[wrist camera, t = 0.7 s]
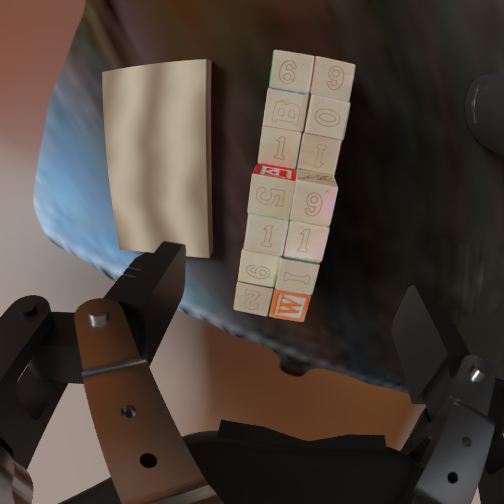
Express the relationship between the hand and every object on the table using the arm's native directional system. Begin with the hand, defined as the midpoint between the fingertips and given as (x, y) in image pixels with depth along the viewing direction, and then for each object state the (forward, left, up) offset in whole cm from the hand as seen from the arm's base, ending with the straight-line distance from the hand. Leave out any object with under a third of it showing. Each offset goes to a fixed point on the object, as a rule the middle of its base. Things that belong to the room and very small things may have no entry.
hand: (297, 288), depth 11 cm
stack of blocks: (0, +1, -25) cm, 25 cm away
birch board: (+15, +1, -24) cm, 29 cm away
